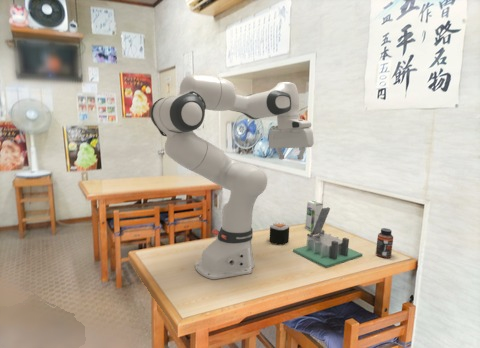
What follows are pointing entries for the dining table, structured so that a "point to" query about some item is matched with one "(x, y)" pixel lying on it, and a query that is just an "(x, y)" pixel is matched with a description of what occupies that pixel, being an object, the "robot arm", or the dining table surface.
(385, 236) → the supplement bottle
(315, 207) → the syrup box
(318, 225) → the steel strap
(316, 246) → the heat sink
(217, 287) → the dining table surface
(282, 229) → the sushi
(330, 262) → the circuit board
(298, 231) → the dining table surface
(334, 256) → the posts
